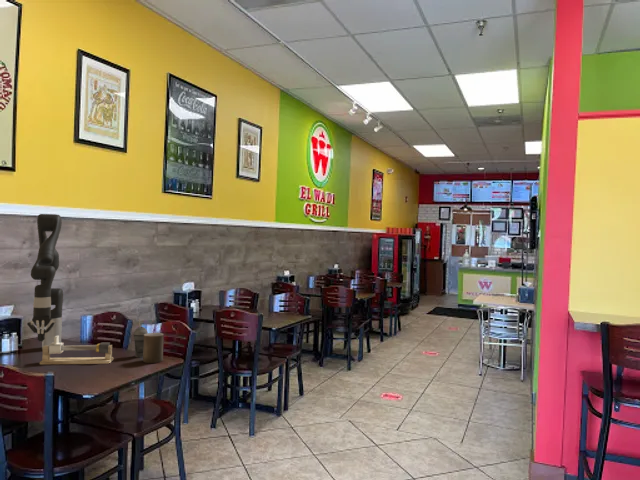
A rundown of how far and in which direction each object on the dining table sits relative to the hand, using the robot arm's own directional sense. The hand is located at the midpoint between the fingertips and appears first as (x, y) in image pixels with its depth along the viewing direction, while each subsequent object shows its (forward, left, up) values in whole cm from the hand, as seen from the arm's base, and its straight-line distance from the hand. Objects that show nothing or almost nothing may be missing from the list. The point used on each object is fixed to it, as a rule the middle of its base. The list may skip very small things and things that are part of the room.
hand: (41, 341), depth 240 cm
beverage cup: (-10, +45, -11) cm, 47 cm away
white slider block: (0, +7, -6) cm, 9 cm away
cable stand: (0, +17, -11) cm, 20 cm away
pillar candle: (0, +53, -11) cm, 54 cm away
